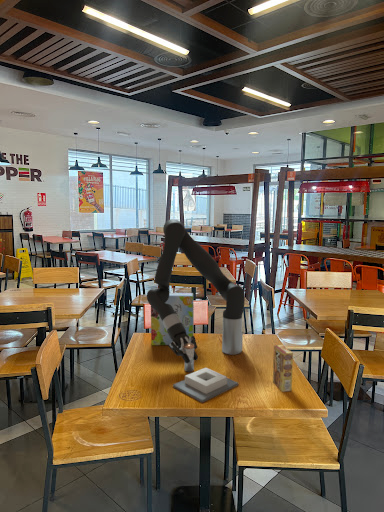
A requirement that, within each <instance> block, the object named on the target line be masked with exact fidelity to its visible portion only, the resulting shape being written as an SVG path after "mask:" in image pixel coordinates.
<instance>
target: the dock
mask: <svg viewBox="0 0 384 512" xmlns="http://www.w3.org/2000/svg"><path fill="white" fill-rule="evenodd" d="M238 386H239V382H238V381H235V380H233V379H231V378H228V376H226V375H223V374H221V373H219V372H217V371H215V370H212V369H210V368H208V367H204V368H201V369H198V370H197V371H194V372H193V371H192V372H190V373H188V374H186V375H184V380H181V381H178V382H175V383H173V384H172V387H173V388H174V389H176V390H178V391H180V392H181V393H184V395H187V396H189V397H191V398H193V399H195V400H196V401H198V402H200V403H203V404H204V402H206V401H208V400H209V401H210V400H211V399H212V398H215V397H217V396H219V395H221V394H223V393H226V392H227V391H229V390H232V389H233V388H235V387H238Z"/></svg>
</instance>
